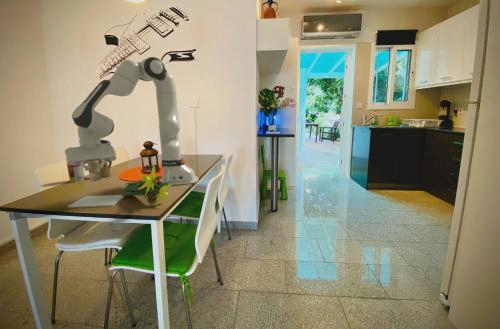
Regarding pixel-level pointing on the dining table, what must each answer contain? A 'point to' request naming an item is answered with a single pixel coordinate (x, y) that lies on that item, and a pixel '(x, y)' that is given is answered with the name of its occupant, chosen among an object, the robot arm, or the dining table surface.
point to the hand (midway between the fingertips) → (94, 169)
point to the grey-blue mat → (97, 201)
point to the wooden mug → (105, 169)
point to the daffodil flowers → (147, 186)
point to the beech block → (94, 170)
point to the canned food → (75, 173)
